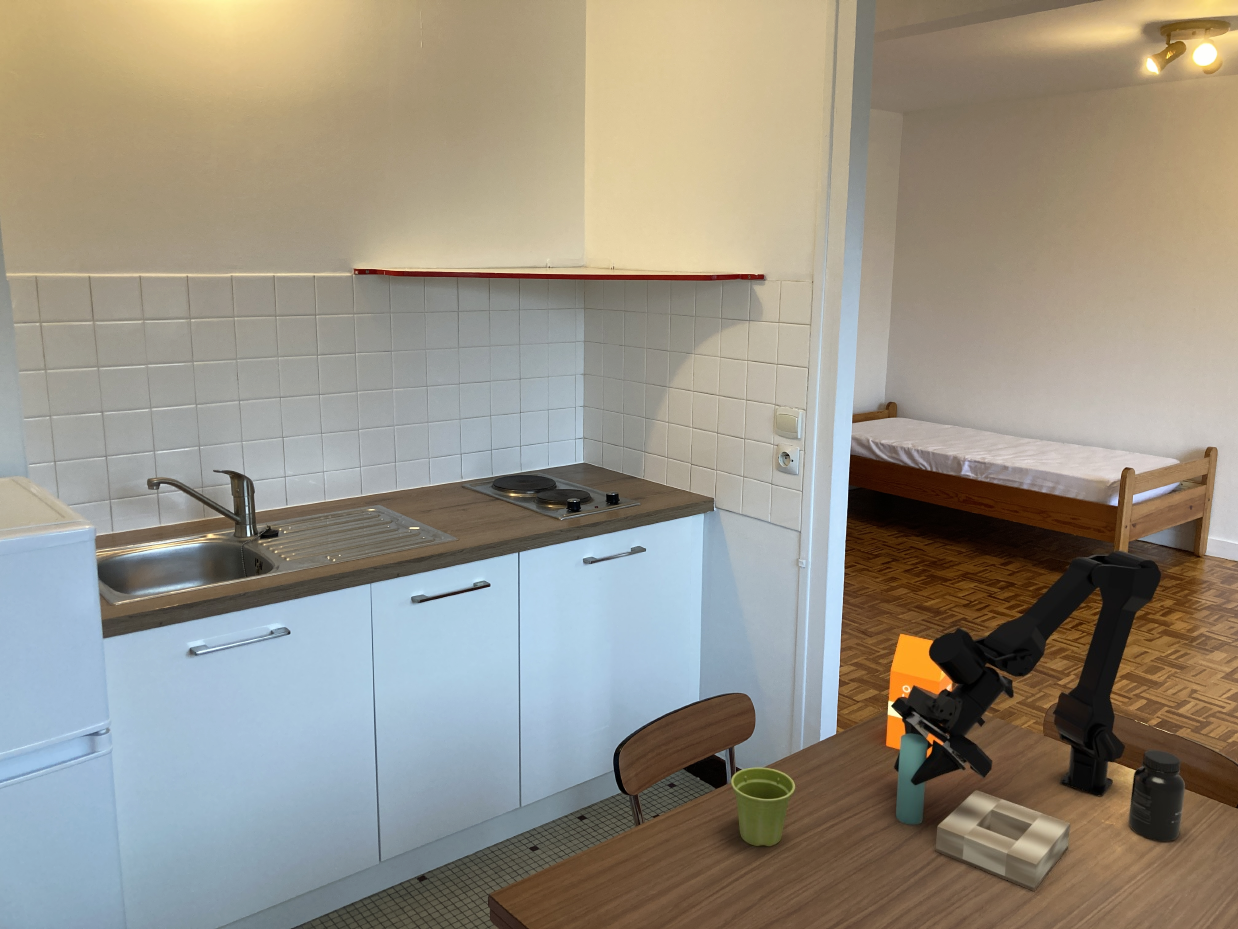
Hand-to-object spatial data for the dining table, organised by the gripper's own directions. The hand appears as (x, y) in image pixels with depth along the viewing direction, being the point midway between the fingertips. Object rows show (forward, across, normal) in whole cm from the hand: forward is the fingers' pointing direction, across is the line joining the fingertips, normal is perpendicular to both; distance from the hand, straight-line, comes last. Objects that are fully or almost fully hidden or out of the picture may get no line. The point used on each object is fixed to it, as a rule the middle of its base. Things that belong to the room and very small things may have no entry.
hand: (904, 776), depth 148 cm
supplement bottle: (-19, +14, +30) cm, 38 cm away
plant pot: (+21, -2, -11) cm, 24 cm away
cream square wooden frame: (-2, +12, +12) cm, 16 cm away
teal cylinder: (+4, 0, +6) cm, 7 cm away
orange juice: (-7, -20, +17) cm, 28 cm away
